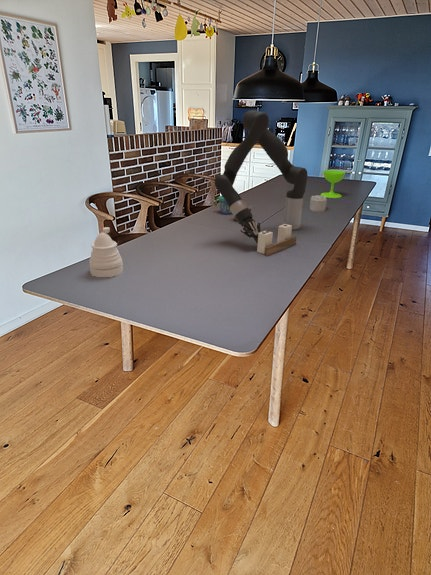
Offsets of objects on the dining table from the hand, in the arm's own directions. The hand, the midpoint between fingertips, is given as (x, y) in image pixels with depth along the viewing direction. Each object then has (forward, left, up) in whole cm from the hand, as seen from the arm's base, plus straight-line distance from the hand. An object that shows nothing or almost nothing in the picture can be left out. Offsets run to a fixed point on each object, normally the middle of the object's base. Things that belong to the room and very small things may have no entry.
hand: (260, 242), depth 180 cm
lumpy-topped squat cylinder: (-80, +59, -5) cm, 100 cm away
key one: (-8, +14, -3) cm, 17 cm away
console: (-5, +6, -5) cm, 9 cm away
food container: (-54, +1, -5) cm, 54 cm away
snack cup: (-74, -4, -5) cm, 75 cm away
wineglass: (-121, +86, -5) cm, 149 cm away
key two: (+2, +2, -3) cm, 4 cm away
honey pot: (+17, -68, -5) cm, 70 cm away
